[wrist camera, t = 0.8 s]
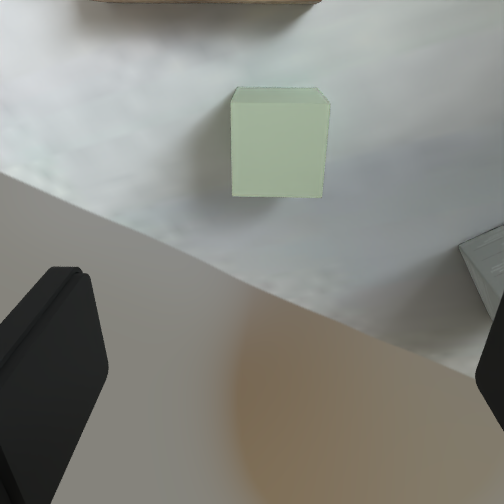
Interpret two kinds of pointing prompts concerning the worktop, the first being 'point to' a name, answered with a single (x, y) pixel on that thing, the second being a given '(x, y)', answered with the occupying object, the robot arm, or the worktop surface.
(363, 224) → the worktop surface
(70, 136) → the worktop surface
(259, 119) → the sage block
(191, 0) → the walnut plinth
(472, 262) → the skincare box
